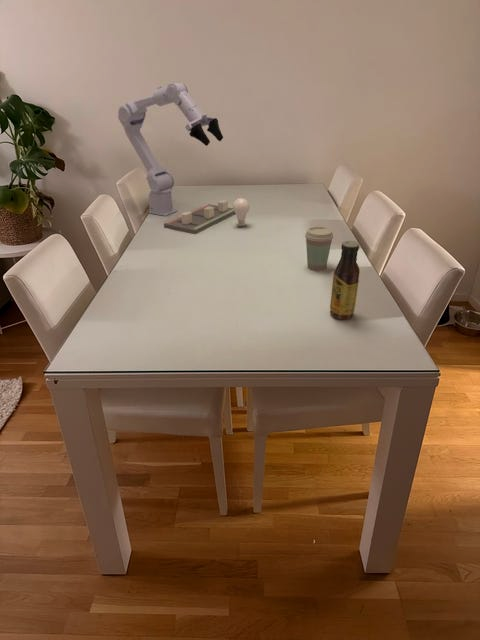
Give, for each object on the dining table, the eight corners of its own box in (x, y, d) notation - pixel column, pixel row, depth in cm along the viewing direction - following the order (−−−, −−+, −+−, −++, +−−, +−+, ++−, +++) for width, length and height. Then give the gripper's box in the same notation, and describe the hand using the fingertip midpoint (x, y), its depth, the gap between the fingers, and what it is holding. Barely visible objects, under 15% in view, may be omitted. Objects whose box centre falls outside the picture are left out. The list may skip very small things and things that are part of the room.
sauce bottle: (326, 309, 123) (333, 238, 113) (349, 308, 123) (358, 237, 113) (333, 322, 117) (340, 248, 107) (357, 320, 118) (367, 247, 108)
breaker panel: (164, 227, 181) (164, 223, 180) (208, 207, 203) (208, 203, 202) (195, 234, 174) (195, 230, 174) (237, 212, 196) (237, 208, 195)
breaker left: (218, 211, 193) (218, 202, 191) (223, 208, 195) (222, 200, 193) (223, 212, 192) (222, 202, 190) (227, 209, 194) (227, 200, 192)
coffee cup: (332, 263, 149) (335, 227, 143) (327, 274, 142) (331, 236, 136) (306, 260, 152) (308, 224, 146) (300, 270, 145) (302, 233, 139)
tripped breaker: (182, 223, 180) (181, 214, 178) (187, 221, 182) (186, 211, 180) (186, 224, 179) (186, 214, 177) (192, 222, 181) (191, 212, 179)
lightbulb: (250, 223, 184) (250, 196, 178) (248, 229, 178) (248, 200, 173) (234, 223, 184) (233, 195, 179) (232, 229, 179) (231, 200, 173)
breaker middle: (204, 217, 185) (203, 208, 184) (209, 215, 188) (209, 206, 186) (209, 218, 184) (208, 209, 182) (214, 216, 187) (213, 207, 185)
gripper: (183, 107, 161) (207, 138, 161) (210, 100, 170) (232, 129, 171) (174, 121, 166) (198, 151, 166) (201, 114, 176) (223, 143, 176)
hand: (215, 141), depth 169 cm, fingers open, 7 cm apart
